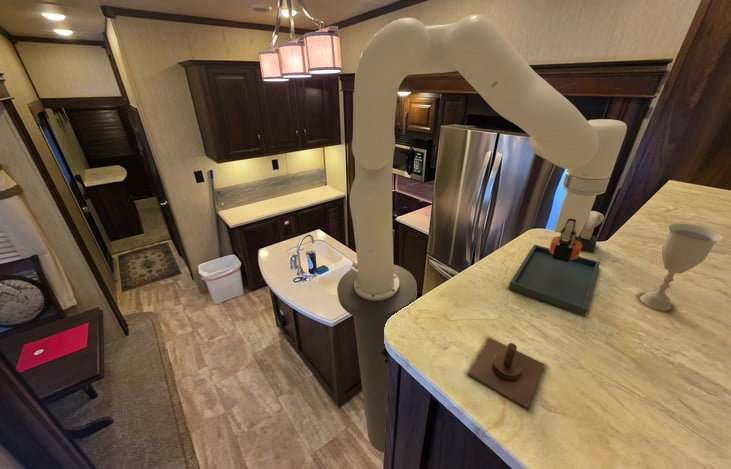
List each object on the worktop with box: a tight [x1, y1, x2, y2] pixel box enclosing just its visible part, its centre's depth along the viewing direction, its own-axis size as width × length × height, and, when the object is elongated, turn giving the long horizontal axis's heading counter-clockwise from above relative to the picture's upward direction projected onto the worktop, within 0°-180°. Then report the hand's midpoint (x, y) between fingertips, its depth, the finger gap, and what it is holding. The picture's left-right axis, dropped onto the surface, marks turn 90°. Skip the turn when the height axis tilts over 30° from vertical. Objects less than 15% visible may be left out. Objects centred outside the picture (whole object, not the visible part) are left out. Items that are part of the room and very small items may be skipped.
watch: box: [577, 210, 605, 254], centre depth 83 cm, size 6×8×11 cm
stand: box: [467, 337, 545, 410], centre depth 51 cm, size 10×10×6 cm
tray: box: [508, 243, 601, 317], centre depth 73 cm, size 16×22×2 cm
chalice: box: [639, 223, 723, 312], centre depth 60 cm, size 7×7×18 cm
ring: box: [549, 235, 582, 260], centre depth 69 cm, size 6×6×3 cm
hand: (563, 252), depth 70 cm, fingers closed on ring, 6 cm apart
